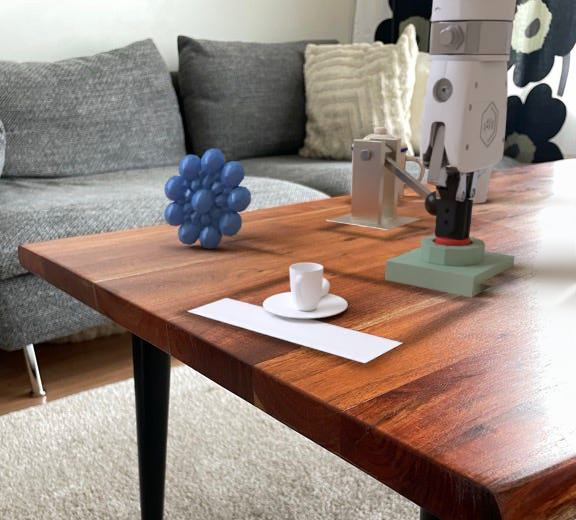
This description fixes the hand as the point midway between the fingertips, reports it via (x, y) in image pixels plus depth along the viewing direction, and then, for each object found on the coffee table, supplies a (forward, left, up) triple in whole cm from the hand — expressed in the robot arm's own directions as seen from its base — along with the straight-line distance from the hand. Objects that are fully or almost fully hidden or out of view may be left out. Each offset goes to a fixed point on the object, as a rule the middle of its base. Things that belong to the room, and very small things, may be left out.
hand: (451, 237), depth 75 cm
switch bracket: (+20, -17, -4) cm, 26 cm away
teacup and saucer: (+4, +15, -5) cm, 17 cm away
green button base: (0, 0, -4) cm, 4 cm away
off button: (0, 0, -2) cm, 2 cm away
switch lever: (+16, -17, +1) cm, 23 cm away
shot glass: (+19, -45, -5) cm, 49 cm away
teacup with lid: (+29, -35, -5) cm, 45 cm away
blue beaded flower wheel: (+30, +5, -5) cm, 31 cm away
